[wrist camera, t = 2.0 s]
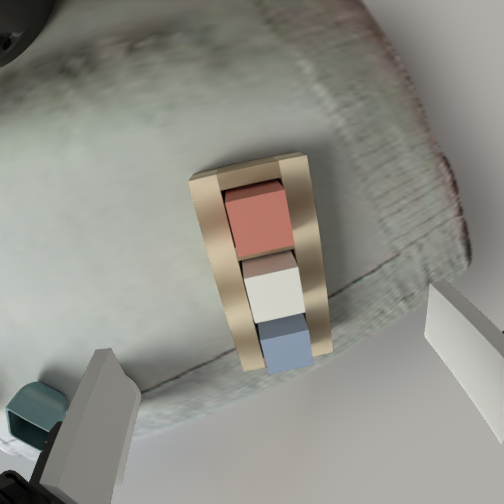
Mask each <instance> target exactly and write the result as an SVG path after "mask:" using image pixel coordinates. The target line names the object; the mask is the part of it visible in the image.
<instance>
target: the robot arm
mask: <svg viewBox="0 0 504 504" xmlns="http://www.w3.org/2000/svg"><path fill="white" fill-rule="evenodd" d="M54 3H55V0H0V67H2V66H4V65H6V64H8V63H9V62H11V61H12V60H13V59H15V58H16V57H17V56H18V55H20V54H21V53H22V52H23V51H24V50H25V49H26V48H27V47H28V45H29V44H30V43H31V42H32V41H33V40H34V38H35V37H36V36H37V34H38V33H39V32H40V30H41V29H42V27H43V25H44V24H45V22H46V20H47V18H48V16H49V14H50V12H51V10H52V8H53V5H54ZM424 337H425V338H426V339H427V340H428V342H429V343H430V344H431V345H432V347H433V348H434V350H435V351H436V352H437V353H438V355H439V356H440V357H441V359H442V360H443V361H444V363H445V364H446V365H447V367H448V368H449V369H450V371H451V372H452V373H453V375H454V376H455V377H456V379H457V380H458V381H459V383H460V384H461V386H462V387H463V389H464V390H465V391H466V393H467V394H468V396H469V397H470V398H471V400H472V401H473V403H474V404H475V406H476V407H477V408H478V410H479V411H480V413H481V414H482V416H483V417H484V419H485V420H486V422H487V423H488V425H489V426H490V428H491V429H492V431H493V432H494V434H495V435H496V437H497V439H498V440H499V442H500V443H501V444H502V443H503V442H504V331H502V332H501V331H500V330H499V329H498V328H497V327H496V326H495V325H494V324H493V323H492V322H491V321H490V320H489V319H488V318H487V317H486V316H485V315H484V314H483V313H482V312H481V311H479V310H478V309H477V308H476V307H475V306H474V305H473V304H472V303H471V302H470V301H469V300H468V299H466V298H465V297H464V296H463V295H462V294H461V293H460V292H459V291H457V290H456V289H455V288H454V287H453V286H452V285H451V284H450V283H448V282H447V281H446V280H445V279H443V280H440V281H436V282H433V283H430V289H429V300H428V309H427V318H426V327H425V333H424ZM136 395H137V394H136V392H135V391H134V389H133V387H132V385H131V384H130V382H129V380H128V378H127V377H126V375H125V373H124V371H123V370H122V368H121V366H120V364H119V362H118V360H117V358H116V357H115V355H114V353H113V351H112V349H111V348H107V349H98V350H95V352H94V355H93V357H92V359H91V361H90V363H89V365H88V367H87V369H86V371H85V373H84V375H83V377H82V380H81V382H80V384H79V386H78V388H77V391H76V393H75V395H74V397H73V399H72V402H71V404H70V406H69V409H68V411H67V413H66V415H65V418H64V420H63V421H58V422H57V423H56V424H55V425H54V426H53V427H52V429H51V430H50V431H49V434H48V436H47V438H46V441H45V442H46V443H45V444H44V445H43V448H42V452H41V453H40V455H39V458H38V460H37V463H36V465H35V468H34V471H33V473H32V476H31V479H30V481H29V482H28V481H26V480H25V479H24V478H23V477H22V476H21V475H20V474H18V473H17V472H16V471H12V470H8V471H4V472H3V473H2V474H0V504H111V499H112V494H113V489H114V484H115V480H116V475H117V471H118V466H119V462H120V458H121V453H122V449H123V445H124V441H125V437H126V433H127V429H128V425H129V421H130V417H131V413H132V410H133V406H134V402H135V399H136Z"/></svg>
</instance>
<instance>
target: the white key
mask: <svg viewBox="0 0 504 504" xmlns="http://www.w3.org/2000/svg"><path fill="white" fill-rule="evenodd" d="M242 265H243V276H244V282H245V286H246V290H247V294H248V298H249V302H250V305H251V309H252V313H253V317H254V321H255V323H260V322H264V321H269V320H273V319H278V318H282V317H287V316H291V315H295V314H300V313H304V312H305V306H304V300H303V293H302V287H301V281H300V275H299V269H298V265H297V263H296V261H295V259H294V257H293V255H292V252H291V250H285V251H281V252H276V253H272V254H267V255H263V256H258V257H254V258H249V259H245V260H242Z"/></svg>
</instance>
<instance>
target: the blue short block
mask: <svg viewBox="0 0 504 504" xmlns="http://www.w3.org/2000/svg"><path fill="white" fill-rule="evenodd" d="M258 328H259V335H260V342H261V345H262V349H263V353H264V357H265V361H266V365H267V368H268V372H269V374H273V373H278V372H282V371H287V370H291V369H296V368H300V367H304V366H309V365H313V357H312V350H311V342H310V335H309V329H308V326H307V324H306V321H305V318H304V315H303V313H300V314H295V315H291V316H287V317H282V318H278V319H273V320H269V321H264V322H260V323H258Z"/></svg>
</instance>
